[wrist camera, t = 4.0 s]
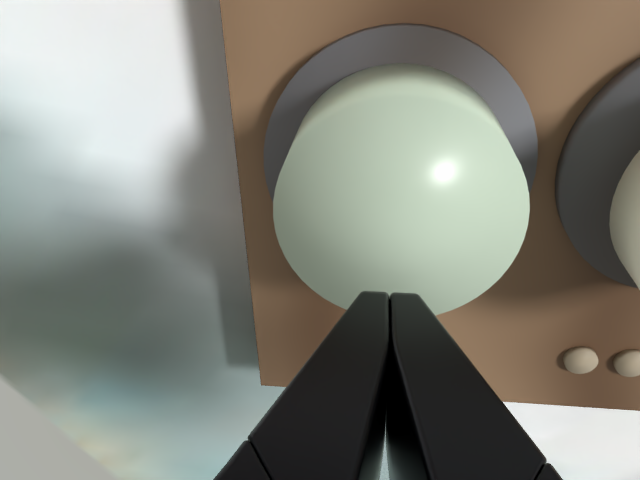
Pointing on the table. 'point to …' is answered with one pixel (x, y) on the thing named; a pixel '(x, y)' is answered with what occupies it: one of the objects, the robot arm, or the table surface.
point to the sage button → (401, 190)
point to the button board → (527, 143)
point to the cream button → (627, 219)
